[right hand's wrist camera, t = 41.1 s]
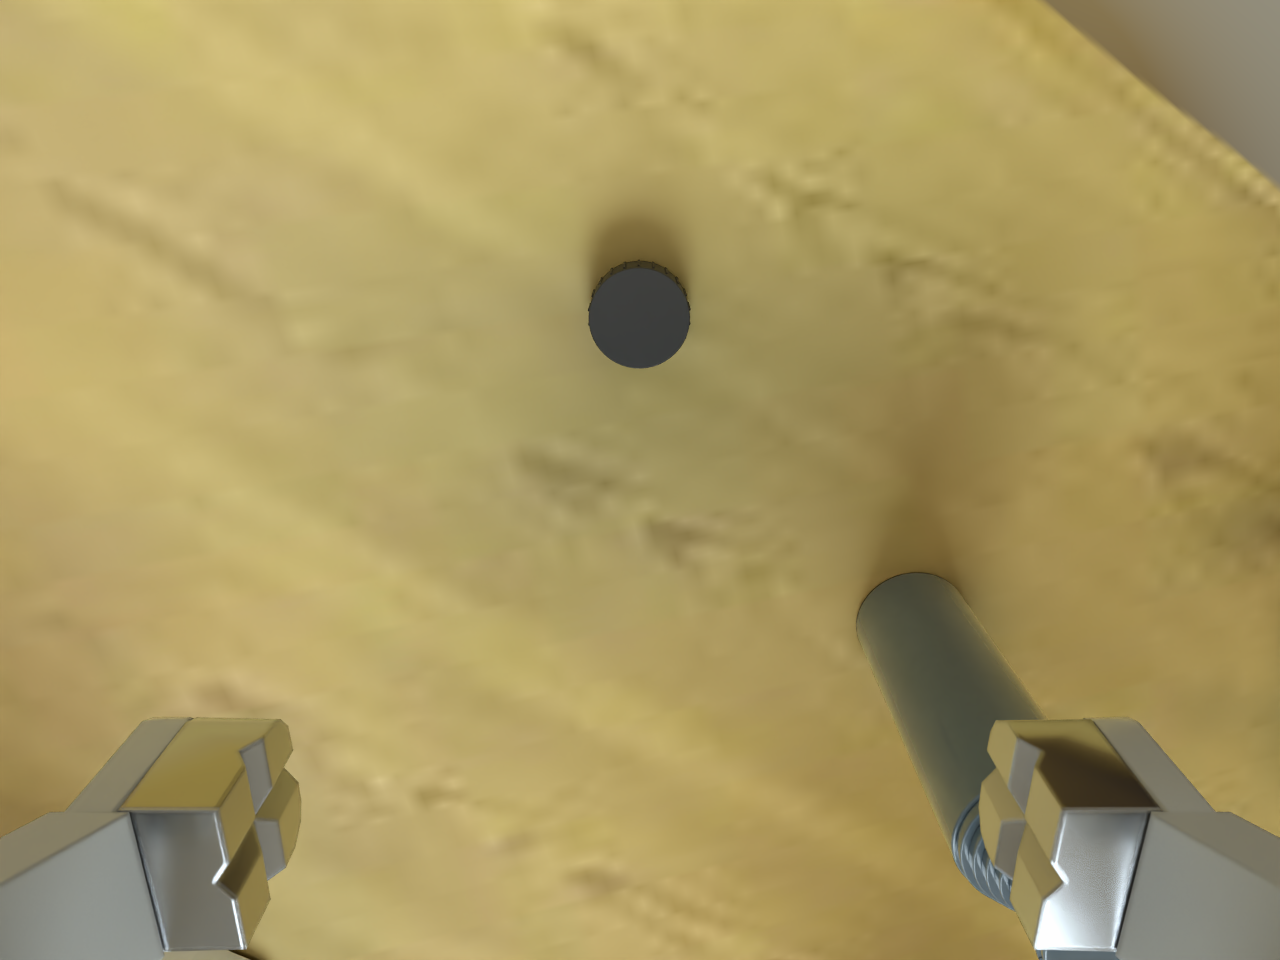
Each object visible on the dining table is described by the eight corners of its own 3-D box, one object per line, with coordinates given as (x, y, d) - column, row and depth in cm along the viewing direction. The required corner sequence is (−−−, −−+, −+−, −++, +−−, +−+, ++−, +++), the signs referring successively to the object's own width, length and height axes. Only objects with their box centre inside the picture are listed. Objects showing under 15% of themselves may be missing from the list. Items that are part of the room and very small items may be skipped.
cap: (672, 246, 37) (674, 252, 35) (699, 342, 39) (702, 353, 37) (577, 276, 38) (573, 283, 36) (607, 370, 39) (605, 382, 37)
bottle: (966, 662, 44) (1179, 1008, 27) (857, 674, 44) (999, 1024, 27) (966, 566, 42) (1196, 869, 25) (853, 578, 43) (1003, 887, 25)
